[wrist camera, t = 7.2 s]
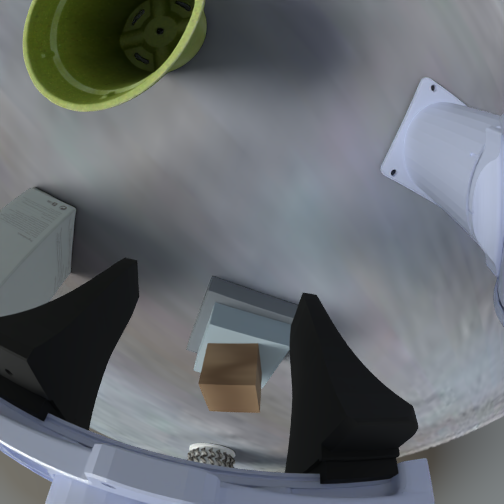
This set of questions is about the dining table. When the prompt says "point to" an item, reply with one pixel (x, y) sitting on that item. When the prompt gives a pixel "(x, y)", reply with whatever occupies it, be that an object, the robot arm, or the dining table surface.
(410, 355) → the dining table surface
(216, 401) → the walnut cube
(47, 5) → the plant pot
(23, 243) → the skincare box
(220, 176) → the dining table surface
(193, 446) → the decorative candle
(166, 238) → the dining table surface
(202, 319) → the base slab
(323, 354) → the robot arm
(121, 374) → the dining table surface
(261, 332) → the top slab
